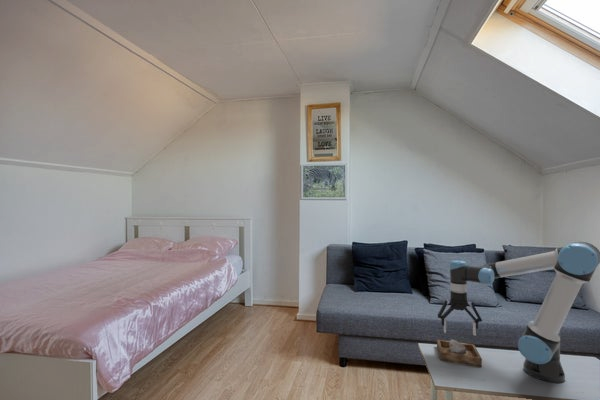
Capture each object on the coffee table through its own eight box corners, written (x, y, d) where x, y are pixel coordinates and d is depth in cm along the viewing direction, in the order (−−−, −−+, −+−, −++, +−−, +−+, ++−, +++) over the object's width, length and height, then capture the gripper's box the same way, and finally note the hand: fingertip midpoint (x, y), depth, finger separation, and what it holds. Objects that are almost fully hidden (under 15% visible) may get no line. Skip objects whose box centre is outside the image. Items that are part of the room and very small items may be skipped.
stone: (442, 349, 166) (442, 338, 166) (457, 348, 167) (457, 337, 167) (453, 358, 156) (453, 346, 156) (468, 357, 157) (468, 346, 157)
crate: (474, 352, 165) (474, 344, 166) (481, 367, 150) (481, 358, 150) (436, 346, 171) (437, 339, 171) (440, 360, 156) (440, 352, 156)
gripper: (484, 291, 161) (485, 333, 160) (431, 287, 168) (432, 328, 168) (488, 295, 154) (489, 339, 153) (433, 291, 161) (433, 333, 160)
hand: (459, 333), depth 160 cm, fingers open, 13 cm apart
